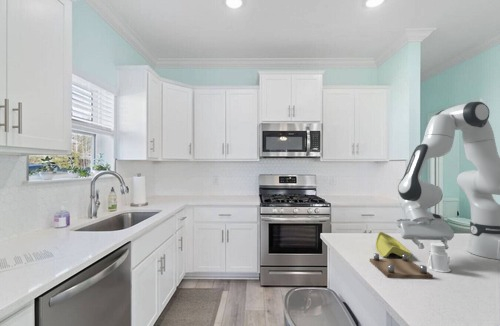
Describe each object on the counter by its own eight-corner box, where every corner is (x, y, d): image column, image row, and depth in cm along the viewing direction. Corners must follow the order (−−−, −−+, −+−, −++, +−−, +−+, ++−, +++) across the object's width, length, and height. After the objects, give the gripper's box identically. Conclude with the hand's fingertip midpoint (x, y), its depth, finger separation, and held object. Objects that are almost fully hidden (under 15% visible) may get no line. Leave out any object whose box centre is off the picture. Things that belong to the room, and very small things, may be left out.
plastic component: (413, 255, 110) (391, 244, 112) (405, 269, 111) (383, 258, 113) (396, 239, 130) (377, 230, 131) (389, 251, 131) (370, 242, 132)
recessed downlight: (443, 265, 104) (442, 241, 104) (456, 272, 97) (454, 246, 97) (423, 266, 104) (421, 241, 105) (434, 273, 97) (433, 247, 98)
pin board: (408, 262, 108) (408, 253, 108) (432, 278, 92) (432, 268, 92) (369, 261, 109) (369, 252, 109) (387, 277, 93) (387, 267, 93)
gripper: (397, 215, 112) (410, 244, 102) (446, 215, 110) (464, 245, 100) (392, 223, 116) (404, 251, 106) (439, 223, 115) (455, 252, 105)
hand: (433, 248), depth 103 cm, fingers open, 8 cm apart
